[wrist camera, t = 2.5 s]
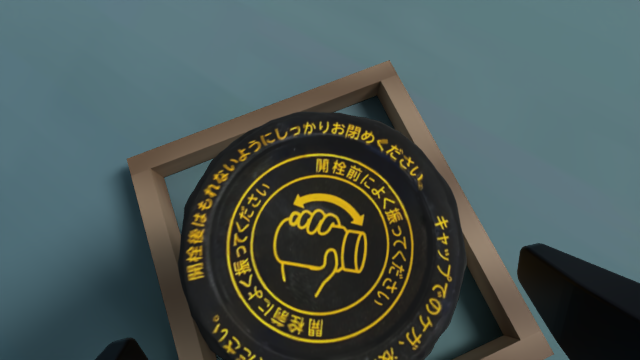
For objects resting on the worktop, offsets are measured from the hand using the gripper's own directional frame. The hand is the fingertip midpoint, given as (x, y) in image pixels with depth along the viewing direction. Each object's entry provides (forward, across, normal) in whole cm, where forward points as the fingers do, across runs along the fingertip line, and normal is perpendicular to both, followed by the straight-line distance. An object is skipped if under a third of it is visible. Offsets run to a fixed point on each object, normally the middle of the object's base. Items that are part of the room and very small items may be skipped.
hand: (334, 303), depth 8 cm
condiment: (+8, 0, +5) cm, 10 cm away
